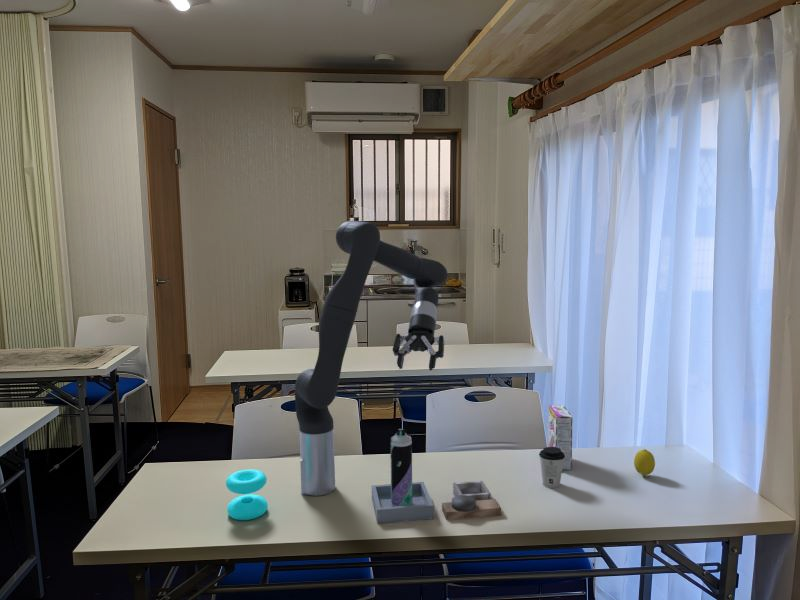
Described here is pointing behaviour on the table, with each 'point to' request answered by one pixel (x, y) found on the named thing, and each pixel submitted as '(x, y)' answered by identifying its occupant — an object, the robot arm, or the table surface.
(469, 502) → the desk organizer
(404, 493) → the spray can
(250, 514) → the donuts
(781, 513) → the table surface
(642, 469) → the lemon
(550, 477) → the coffee cup
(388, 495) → the tray
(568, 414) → the candy bar box
